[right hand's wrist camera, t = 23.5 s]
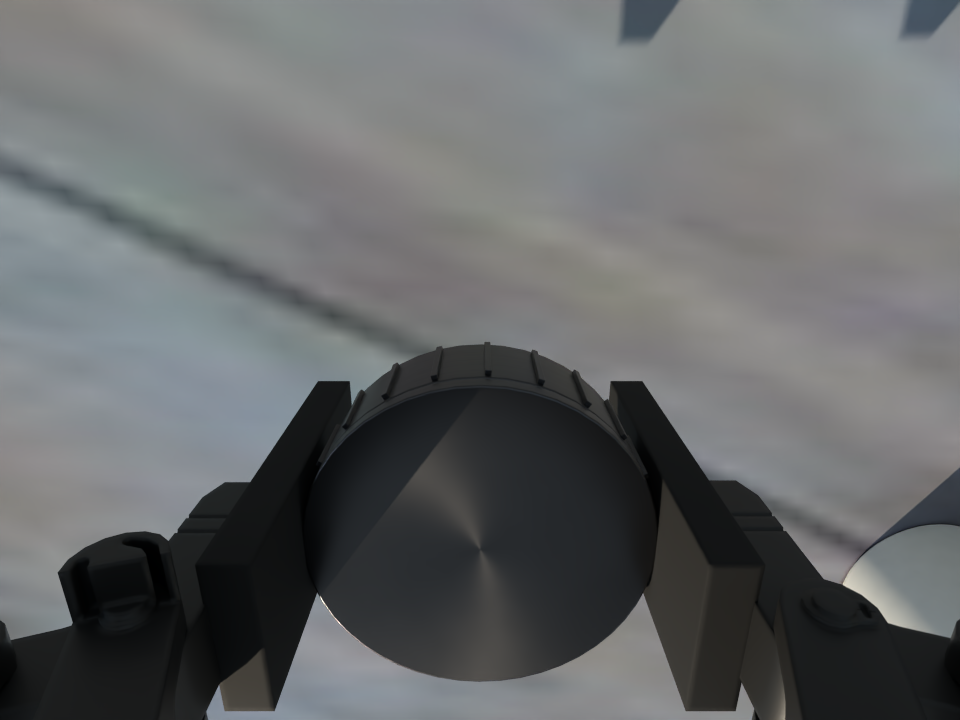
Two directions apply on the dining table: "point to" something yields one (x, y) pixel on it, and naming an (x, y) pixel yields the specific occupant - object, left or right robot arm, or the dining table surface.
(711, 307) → the dining table surface
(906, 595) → the white cylindrical tube
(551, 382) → the lid
